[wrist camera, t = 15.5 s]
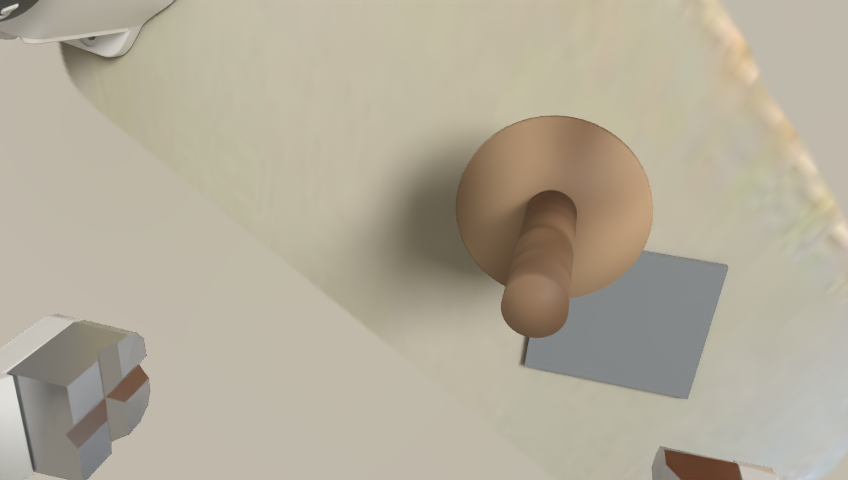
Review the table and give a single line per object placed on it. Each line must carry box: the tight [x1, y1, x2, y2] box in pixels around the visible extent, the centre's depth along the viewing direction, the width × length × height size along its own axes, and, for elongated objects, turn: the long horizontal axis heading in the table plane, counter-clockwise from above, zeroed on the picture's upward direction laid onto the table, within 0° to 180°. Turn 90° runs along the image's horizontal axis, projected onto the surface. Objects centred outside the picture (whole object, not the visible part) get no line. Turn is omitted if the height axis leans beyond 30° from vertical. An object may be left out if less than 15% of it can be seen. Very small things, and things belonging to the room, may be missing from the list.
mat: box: [524, 251, 728, 399], centre depth 45 cm, size 11×10×1 cm
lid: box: [456, 116, 653, 338], centre depth 32 cm, size 10×10×11 cm
